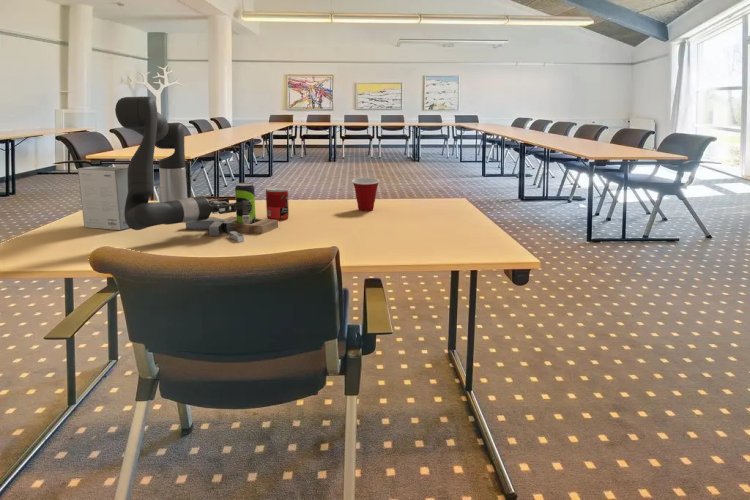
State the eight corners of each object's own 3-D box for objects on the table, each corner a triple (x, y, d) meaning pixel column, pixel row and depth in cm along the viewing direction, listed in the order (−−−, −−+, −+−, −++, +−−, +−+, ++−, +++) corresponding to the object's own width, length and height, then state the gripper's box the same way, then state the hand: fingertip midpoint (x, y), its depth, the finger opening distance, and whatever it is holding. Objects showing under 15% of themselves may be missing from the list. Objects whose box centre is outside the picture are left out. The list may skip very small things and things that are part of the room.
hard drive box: (136, 226, 213) (131, 167, 208) (120, 231, 206) (115, 170, 201) (99, 223, 218) (93, 165, 213) (82, 227, 211) (76, 167, 206)
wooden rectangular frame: (214, 229, 209) (213, 222, 209) (231, 223, 219) (231, 216, 219) (262, 233, 204) (262, 226, 203) (278, 227, 214) (277, 220, 213)
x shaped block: (213, 237, 199) (212, 227, 198) (182, 228, 211) (182, 219, 210) (239, 232, 206) (239, 223, 205) (208, 224, 218) (208, 215, 217)
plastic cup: (348, 211, 243) (348, 180, 240) (355, 206, 253) (355, 177, 250) (376, 213, 241) (376, 181, 238) (382, 208, 251) (382, 178, 248)
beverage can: (259, 227, 213) (258, 183, 210) (248, 231, 208) (246, 185, 204) (244, 225, 216) (242, 182, 212) (233, 229, 210) (231, 184, 207)
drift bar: (229, 238, 199) (228, 231, 199) (235, 237, 200) (234, 231, 200) (238, 243, 193) (237, 236, 192) (244, 242, 194) (244, 235, 193)
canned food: (284, 221, 224) (283, 190, 222) (263, 220, 226) (262, 189, 223) (291, 217, 231) (291, 187, 229) (271, 216, 233) (270, 186, 230)
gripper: (203, 200, 190) (248, 194, 201) (178, 195, 199) (222, 189, 211) (204, 224, 192) (249, 217, 203) (180, 218, 201) (224, 211, 213)
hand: (235, 203), depth 207 cm, fingers open, 8 cm apart
